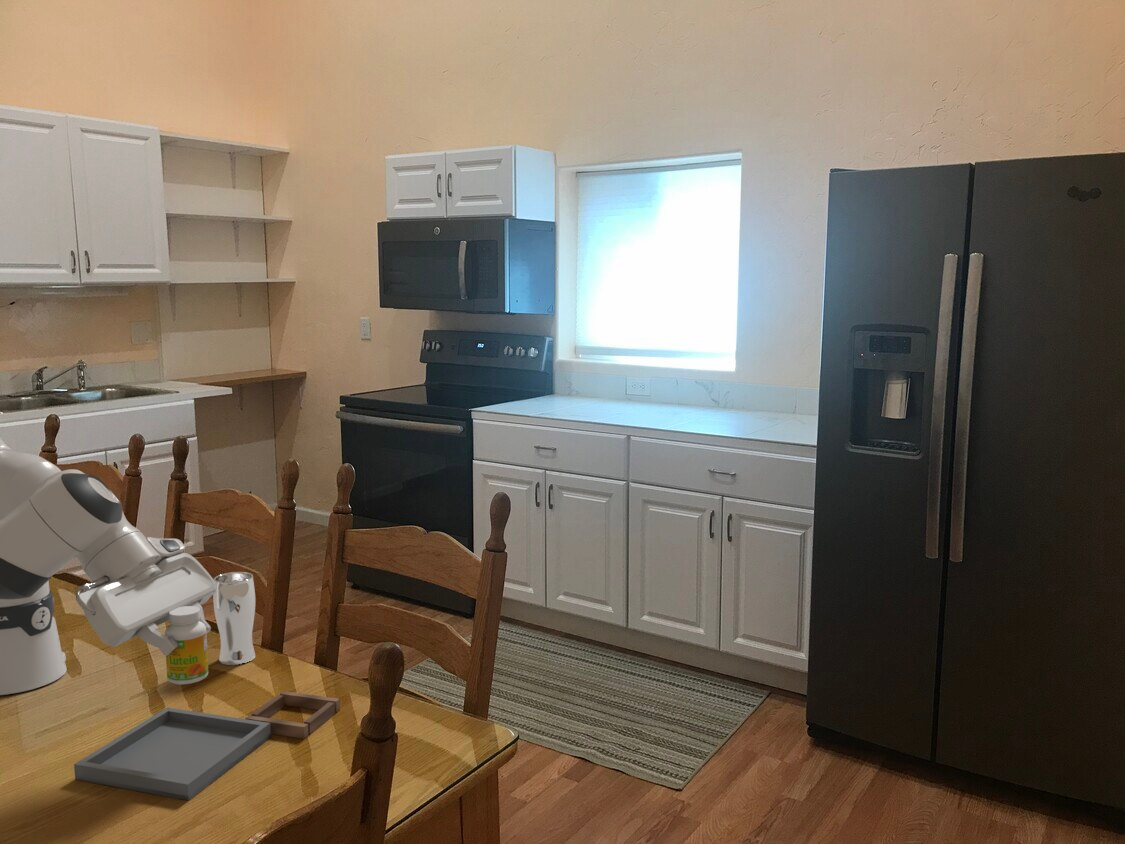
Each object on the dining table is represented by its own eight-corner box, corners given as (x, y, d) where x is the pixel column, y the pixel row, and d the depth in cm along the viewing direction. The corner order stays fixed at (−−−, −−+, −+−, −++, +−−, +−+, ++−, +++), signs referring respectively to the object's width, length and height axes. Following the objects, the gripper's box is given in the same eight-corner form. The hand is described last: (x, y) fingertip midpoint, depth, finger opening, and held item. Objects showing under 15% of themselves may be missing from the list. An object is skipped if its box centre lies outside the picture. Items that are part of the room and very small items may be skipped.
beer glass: (244, 648, 171) (240, 569, 169) (265, 657, 167) (262, 576, 165) (208, 659, 166) (204, 578, 164) (230, 669, 161) (226, 585, 159)
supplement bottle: (164, 687, 128) (160, 618, 126) (170, 672, 133) (166, 606, 131) (206, 682, 129) (203, 615, 128) (210, 668, 134) (206, 602, 133)
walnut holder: (245, 729, 139) (245, 718, 139) (284, 701, 149) (283, 691, 149) (304, 738, 136) (304, 727, 136) (339, 709, 146) (339, 698, 146)
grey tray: (75, 779, 125) (74, 764, 125) (167, 721, 142) (167, 707, 142) (188, 800, 120) (187, 784, 120) (270, 737, 137) (270, 723, 137)
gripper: (81, 575, 121) (149, 656, 119) (187, 536, 140) (246, 605, 139) (56, 605, 122) (122, 685, 121) (163, 562, 142) (222, 631, 141)
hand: (189, 642), depth 130 cm, fingers closed on supplement bottle, 5 cm apart
